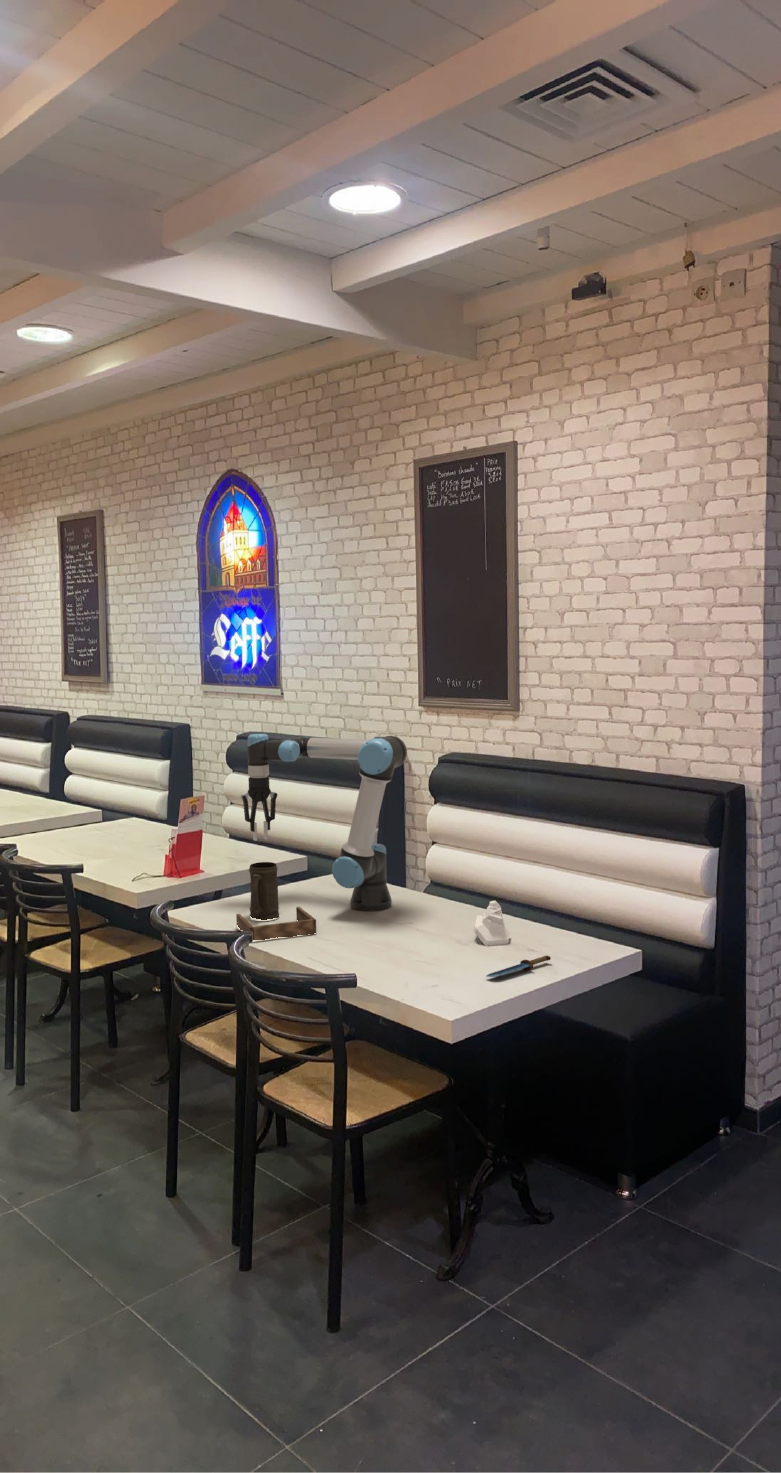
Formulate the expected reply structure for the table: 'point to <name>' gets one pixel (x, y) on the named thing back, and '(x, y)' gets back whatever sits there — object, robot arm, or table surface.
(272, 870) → the beer stein
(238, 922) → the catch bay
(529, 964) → the knife
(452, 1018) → the table surface
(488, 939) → the white faceted rock
